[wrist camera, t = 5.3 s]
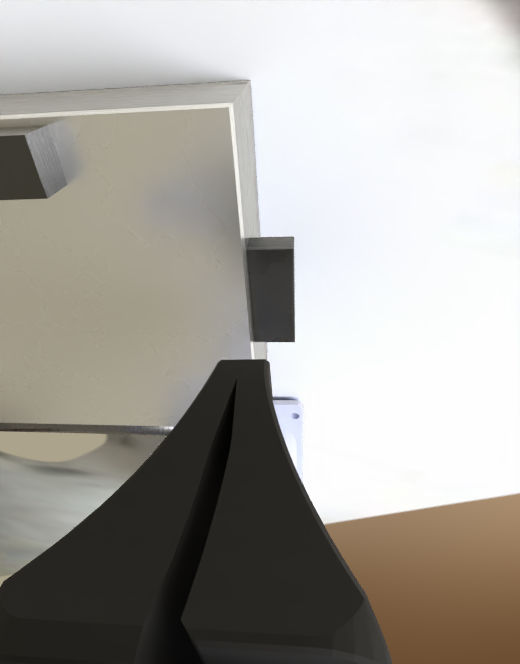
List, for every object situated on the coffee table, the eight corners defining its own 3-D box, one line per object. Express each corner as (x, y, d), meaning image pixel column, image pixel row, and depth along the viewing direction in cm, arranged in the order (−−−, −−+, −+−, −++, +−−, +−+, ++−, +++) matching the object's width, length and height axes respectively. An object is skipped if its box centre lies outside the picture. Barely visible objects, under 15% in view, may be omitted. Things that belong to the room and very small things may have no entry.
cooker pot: (296, 352, 23) (295, 422, 19) (-28, 351, 25) (-91, 414, 21) (293, 77, 15) (291, 98, 11) (-177, 105, 17) (-322, 131, 13)
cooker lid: (260, 424, 19) (256, 463, 18) (-59, 418, 21) (-91, 452, 19) (233, 101, 11) (222, 115, 10) (-275, 129, 13) (-361, 145, 11)
